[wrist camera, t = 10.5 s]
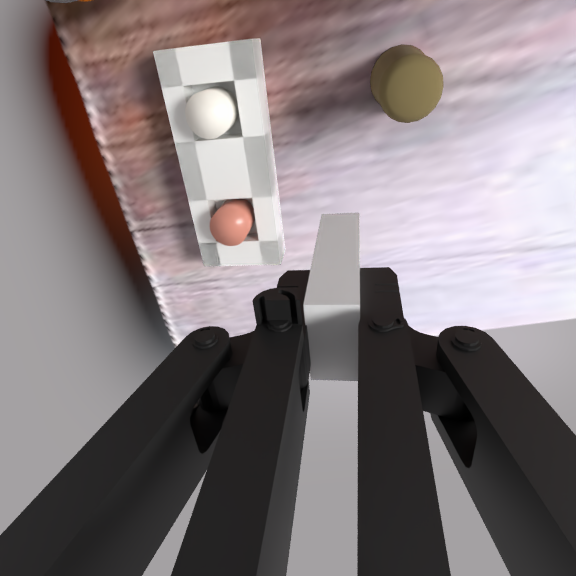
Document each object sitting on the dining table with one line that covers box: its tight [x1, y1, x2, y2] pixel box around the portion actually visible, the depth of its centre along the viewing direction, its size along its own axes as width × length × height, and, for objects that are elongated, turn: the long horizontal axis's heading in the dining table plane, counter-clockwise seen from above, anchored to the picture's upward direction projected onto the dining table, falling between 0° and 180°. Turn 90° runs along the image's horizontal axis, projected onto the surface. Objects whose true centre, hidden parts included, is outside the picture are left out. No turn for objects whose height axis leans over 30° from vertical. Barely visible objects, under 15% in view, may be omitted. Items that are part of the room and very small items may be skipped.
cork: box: [370, 45, 443, 123], centre depth 37 cm, size 6×6×11 cm
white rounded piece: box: [185, 86, 239, 139], centre depth 42 cm, size 4×4×4 cm
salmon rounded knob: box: [210, 198, 255, 246], centre depth 48 cm, size 4×4×4 cm
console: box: [153, 38, 285, 266], centre depth 47 cm, size 24×10×4 cm, turn 6°
